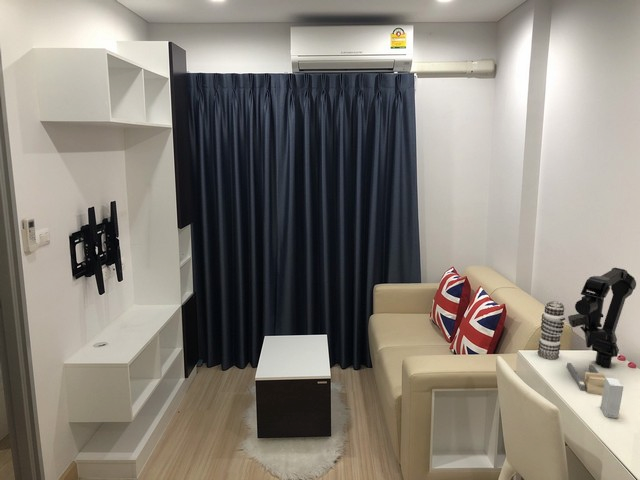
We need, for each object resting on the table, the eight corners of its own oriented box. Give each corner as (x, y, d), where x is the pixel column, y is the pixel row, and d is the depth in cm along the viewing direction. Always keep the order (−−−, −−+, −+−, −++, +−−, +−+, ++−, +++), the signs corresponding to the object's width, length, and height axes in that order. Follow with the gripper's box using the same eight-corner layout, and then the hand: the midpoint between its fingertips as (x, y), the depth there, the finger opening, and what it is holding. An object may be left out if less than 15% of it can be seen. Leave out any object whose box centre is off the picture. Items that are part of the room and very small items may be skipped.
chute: (563, 369, 218) (564, 361, 217) (594, 372, 216) (596, 365, 215) (577, 392, 199) (578, 384, 198) (611, 396, 196) (613, 388, 196)
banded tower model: (551, 352, 233) (559, 299, 228) (563, 362, 224) (571, 306, 219) (532, 353, 232) (539, 299, 226) (543, 362, 223) (551, 306, 217)
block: (583, 386, 201) (585, 372, 200) (600, 388, 200) (602, 373, 199) (587, 392, 196) (589, 378, 195) (604, 394, 195) (607, 380, 194)
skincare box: (618, 418, 181) (624, 386, 179) (605, 417, 182) (610, 385, 180) (612, 409, 187) (618, 378, 185) (599, 408, 188) (604, 377, 186)
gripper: (565, 300, 215) (560, 336, 218) (578, 315, 197) (572, 354, 201) (594, 302, 213) (589, 338, 216) (610, 318, 195) (604, 358, 199)
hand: (588, 347), depth 208 cm, fingers closed
